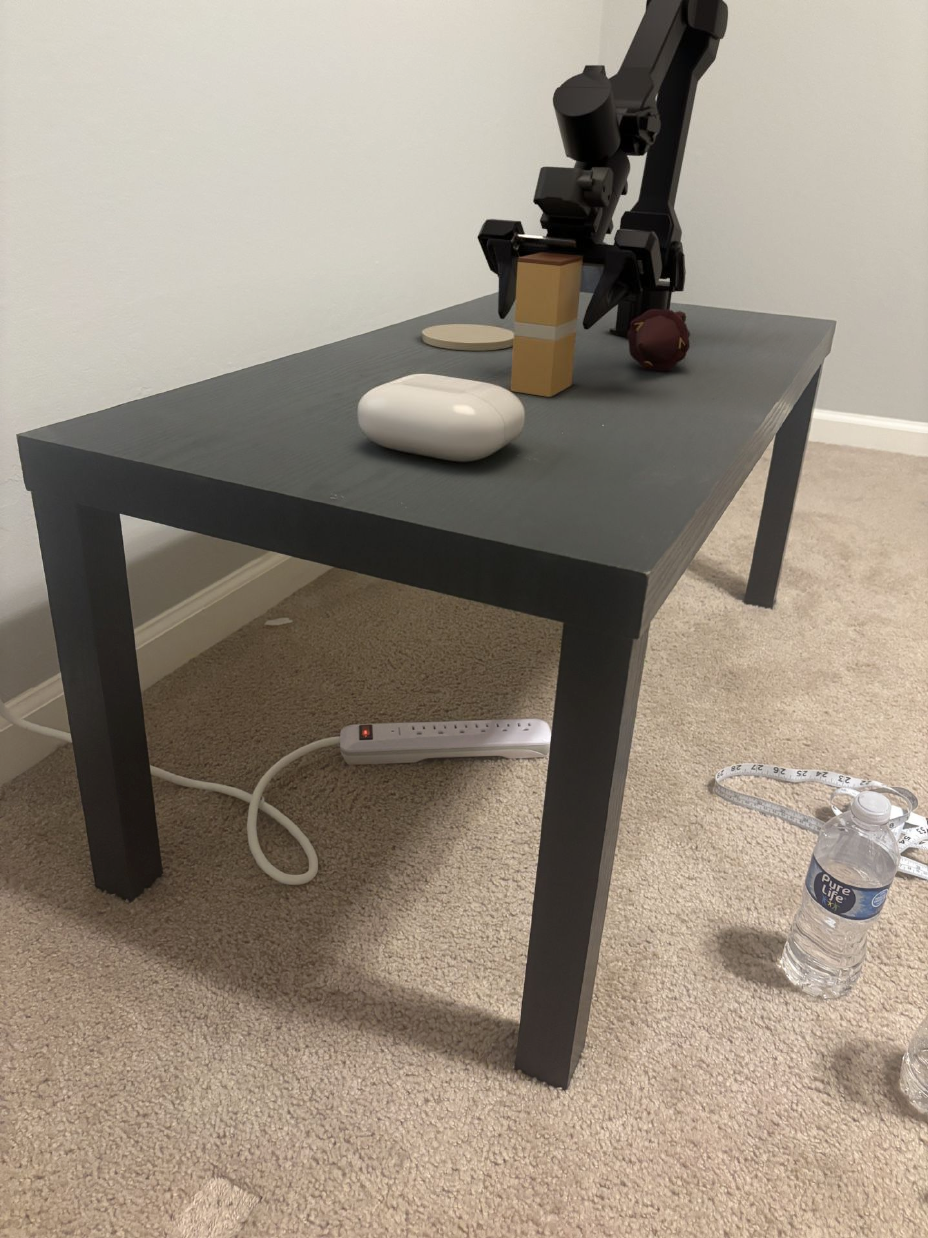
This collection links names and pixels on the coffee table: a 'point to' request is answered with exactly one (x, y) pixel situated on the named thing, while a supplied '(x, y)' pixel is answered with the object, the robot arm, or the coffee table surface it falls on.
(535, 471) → the coffee table surface
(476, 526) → the coffee table surface
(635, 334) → the maroon dungeon die
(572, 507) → the coffee table surface
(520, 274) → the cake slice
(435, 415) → the earbud case
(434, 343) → the plate
